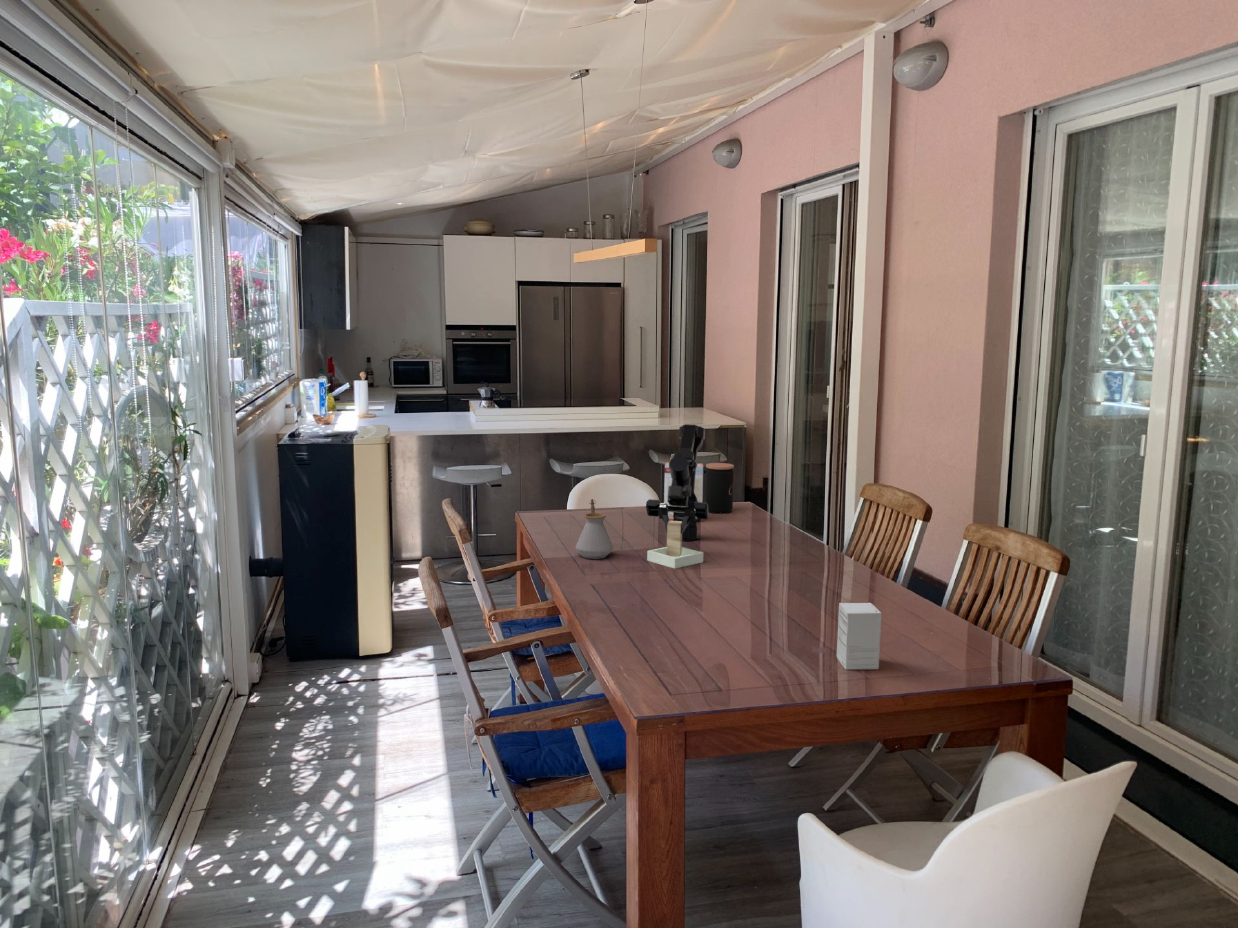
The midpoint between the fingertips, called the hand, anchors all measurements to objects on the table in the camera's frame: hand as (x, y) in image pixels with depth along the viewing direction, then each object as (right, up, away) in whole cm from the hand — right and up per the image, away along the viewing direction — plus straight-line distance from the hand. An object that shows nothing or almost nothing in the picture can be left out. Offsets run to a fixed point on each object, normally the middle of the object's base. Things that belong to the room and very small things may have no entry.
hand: (674, 532), depth 282 cm
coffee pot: (-25, -7, +13) cm, 29 cm away
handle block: (0, -7, +2) cm, 7 cm away
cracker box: (+7, 0, +62) cm, 62 cm away
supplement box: (+35, -23, -80) cm, 90 cm away
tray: (+1, -9, +3) cm, 9 cm away
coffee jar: (+22, +2, +78) cm, 81 cm away
